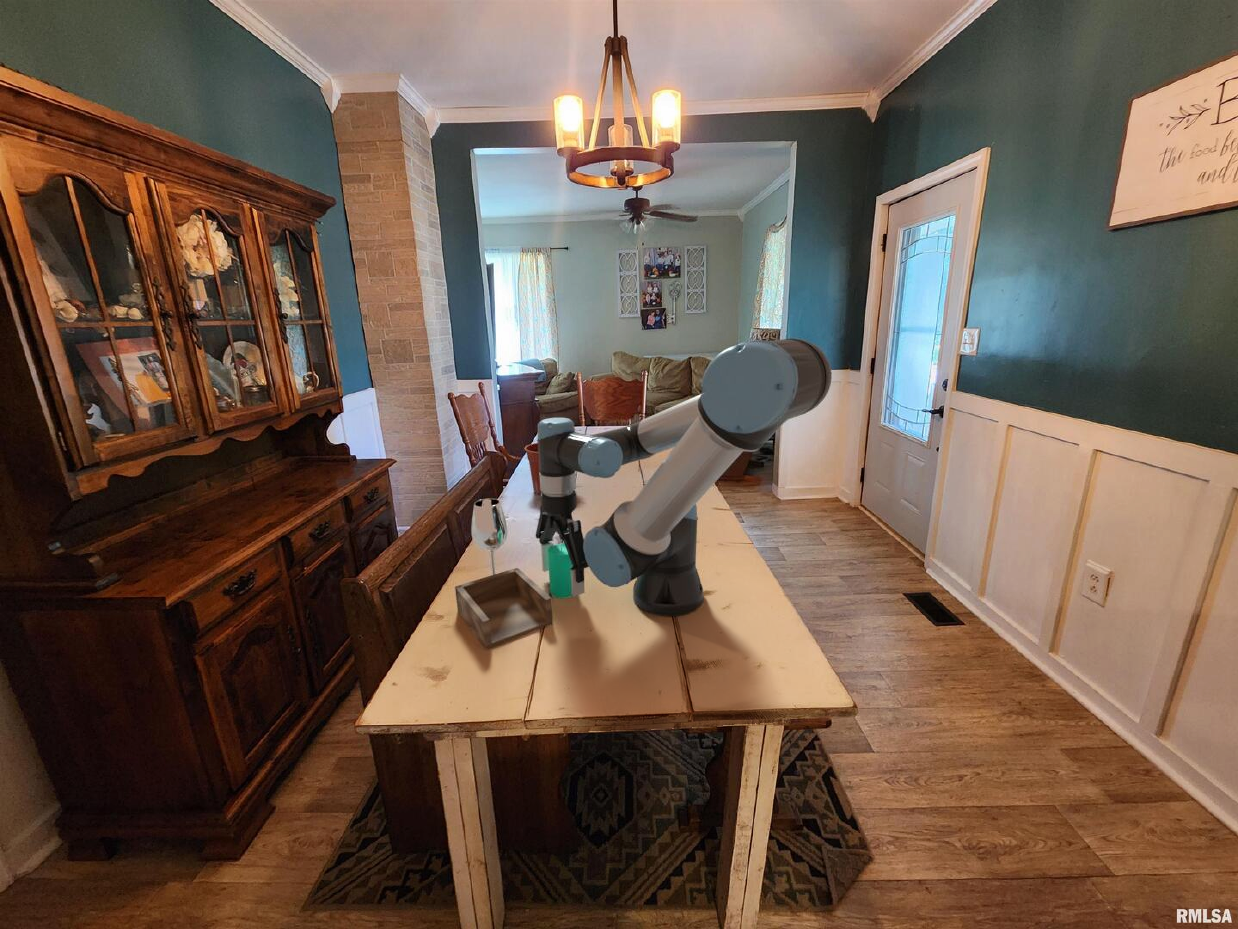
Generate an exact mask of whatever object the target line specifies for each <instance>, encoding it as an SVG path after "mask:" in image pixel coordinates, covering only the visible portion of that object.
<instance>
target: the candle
mask: <svg viewBox="0 0 1238 929" xmlns="http://www.w3.org/2000/svg"><path fill="white" fill-rule="evenodd" d="M548 563H549V570H548V577H549V593H550V595H551V596H552V597H553V598H557V599H558V598H559V599H566V598H570V597H573V596H572V586H571V569H570V568H571V567H573V565H572V563H571V560H570V557H569V555H568V552H567V549H566V547H565V544H564V542H560V543H557V544H553V546H550V547H549V549H548Z"/></svg>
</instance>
